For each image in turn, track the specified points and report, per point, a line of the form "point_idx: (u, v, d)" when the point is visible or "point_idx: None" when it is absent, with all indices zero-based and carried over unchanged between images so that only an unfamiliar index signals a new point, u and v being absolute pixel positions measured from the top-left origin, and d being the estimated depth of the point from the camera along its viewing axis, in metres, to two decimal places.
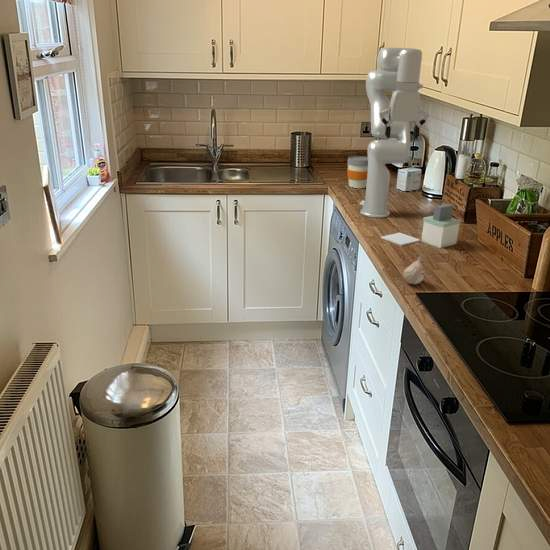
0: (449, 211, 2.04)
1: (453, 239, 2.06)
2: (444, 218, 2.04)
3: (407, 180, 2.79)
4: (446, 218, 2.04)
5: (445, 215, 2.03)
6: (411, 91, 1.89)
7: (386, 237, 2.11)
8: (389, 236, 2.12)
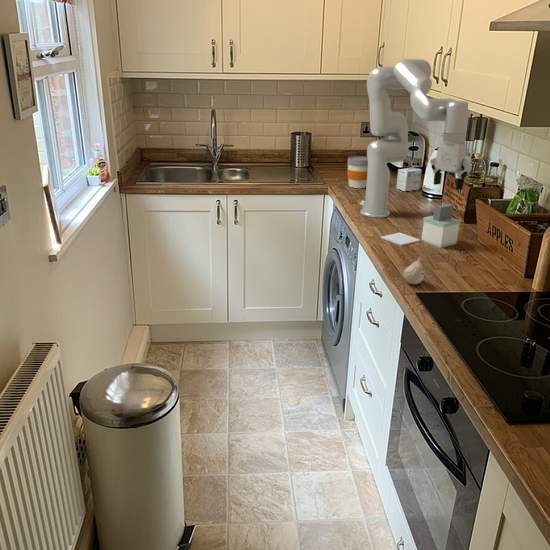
0: (449, 211, 2.04)
1: (453, 239, 2.06)
2: (444, 218, 2.04)
3: (407, 180, 2.79)
4: (446, 218, 2.04)
5: (445, 215, 2.03)
6: None
7: (386, 237, 2.11)
8: (389, 236, 2.12)
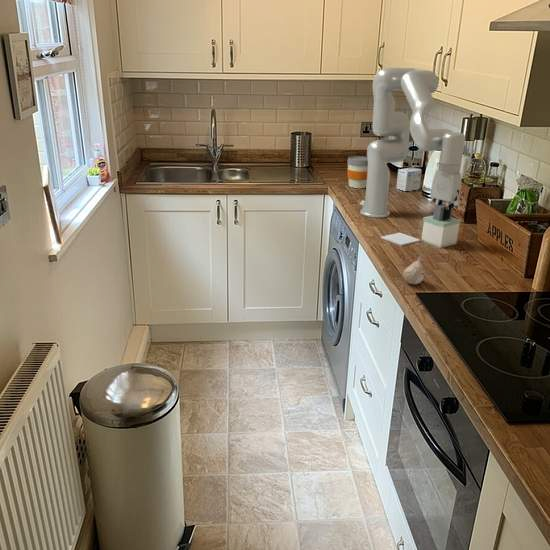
0: None
1: (453, 239, 2.06)
2: None
3: (407, 180, 2.79)
4: None
5: None
6: None
7: (386, 237, 2.11)
8: (389, 236, 2.12)
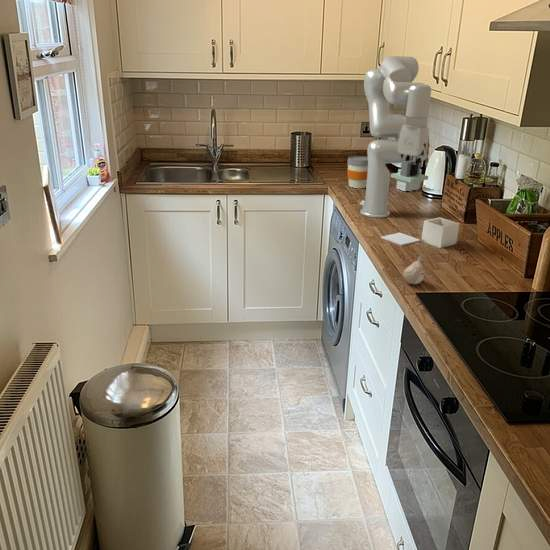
0: None
1: (453, 239, 2.06)
2: None
3: None
4: None
5: None
6: None
7: (386, 237, 2.11)
8: (389, 236, 2.12)
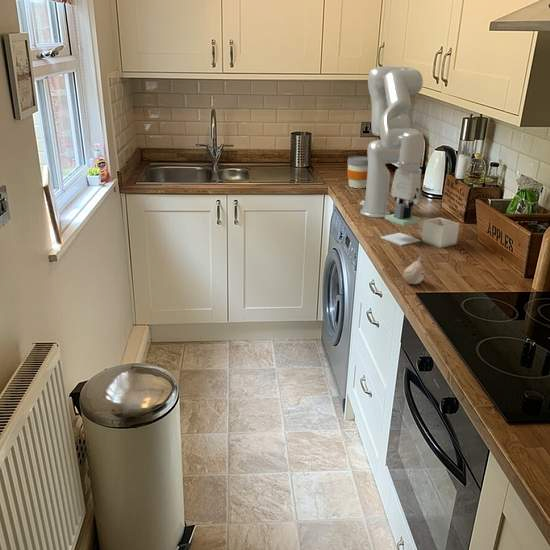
0: None
1: (453, 239, 2.06)
2: None
3: None
4: None
5: None
6: None
7: (386, 237, 2.11)
8: (389, 236, 2.12)
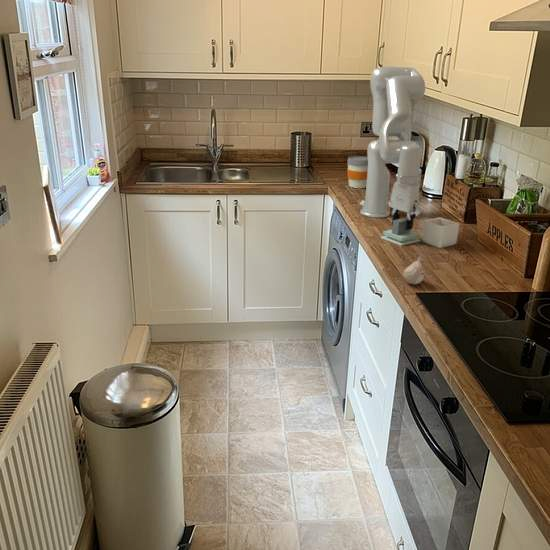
0: None
1: (453, 239, 2.06)
2: (402, 232, 2.08)
3: None
4: (405, 232, 2.09)
5: (403, 229, 2.08)
6: None
7: (386, 237, 2.11)
8: None
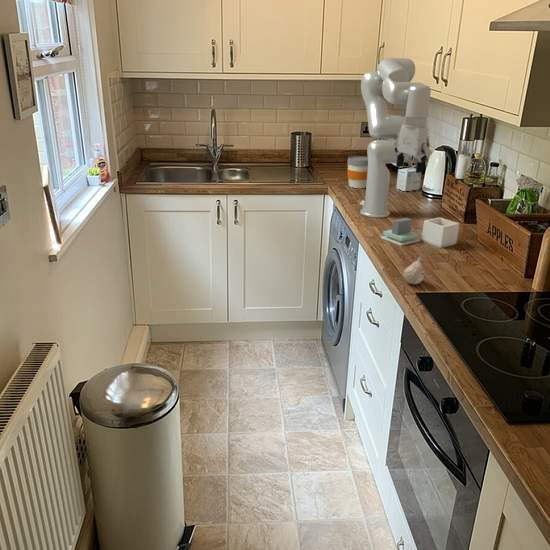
0: (408, 225, 2.09)
1: (453, 239, 2.06)
2: (402, 232, 2.08)
3: (407, 180, 2.79)
4: (405, 232, 2.09)
5: (403, 229, 2.08)
6: None
7: (386, 237, 2.11)
8: None
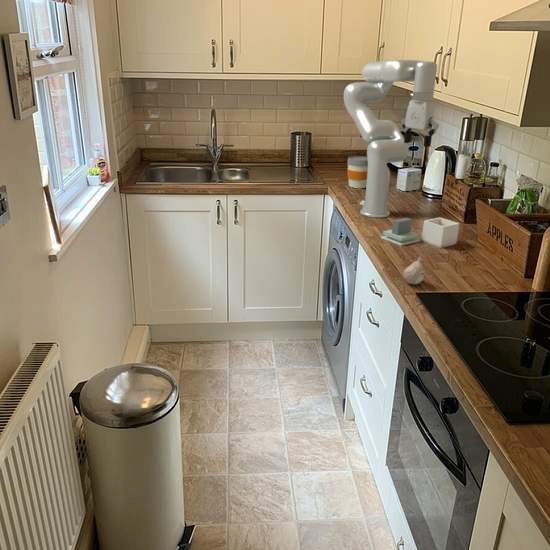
0: (408, 225, 2.09)
1: (453, 239, 2.06)
2: (402, 232, 2.08)
3: (407, 180, 2.79)
4: (405, 232, 2.09)
5: (403, 229, 2.08)
6: None
7: (386, 237, 2.11)
8: None
